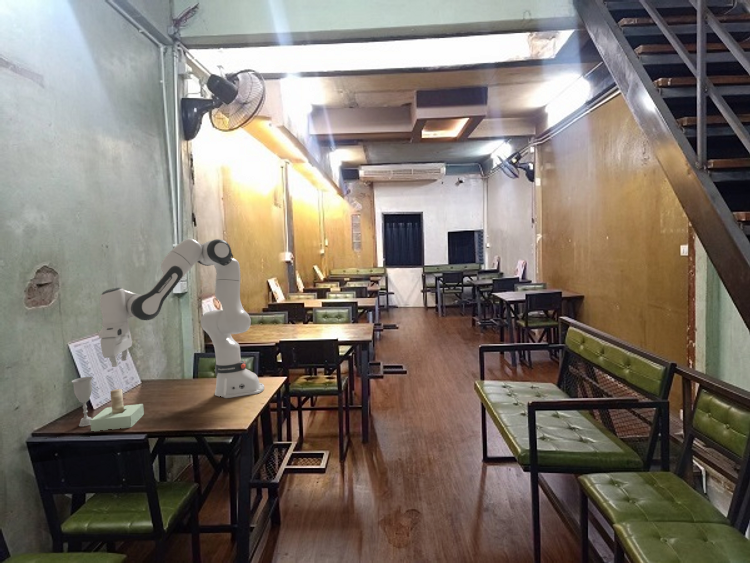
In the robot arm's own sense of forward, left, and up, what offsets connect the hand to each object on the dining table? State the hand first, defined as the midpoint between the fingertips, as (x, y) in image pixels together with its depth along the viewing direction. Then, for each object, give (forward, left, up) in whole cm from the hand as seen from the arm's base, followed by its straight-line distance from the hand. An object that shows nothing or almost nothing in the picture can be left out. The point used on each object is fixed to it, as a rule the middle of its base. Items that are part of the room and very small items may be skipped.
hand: (120, 363), depth 171 cm
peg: (+1, +2, -23) cm, 23 cm away
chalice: (+15, -1, -24) cm, 28 cm away
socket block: (+2, +2, -23) cm, 23 cm away
